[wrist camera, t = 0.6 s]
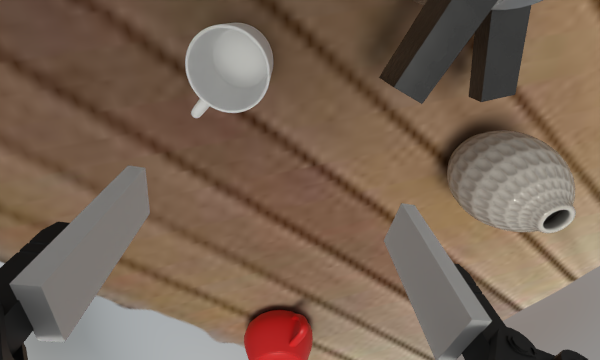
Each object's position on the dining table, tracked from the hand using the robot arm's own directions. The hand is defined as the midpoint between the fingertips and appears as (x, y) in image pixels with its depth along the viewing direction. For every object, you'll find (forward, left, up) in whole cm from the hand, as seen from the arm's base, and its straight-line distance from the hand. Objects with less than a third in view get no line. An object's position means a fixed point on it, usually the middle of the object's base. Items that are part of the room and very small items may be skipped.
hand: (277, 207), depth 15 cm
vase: (+17, +27, -28) cm, 43 cm away
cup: (-4, -6, -28) cm, 29 cm away
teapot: (+53, -15, -28) cm, 62 cm away
